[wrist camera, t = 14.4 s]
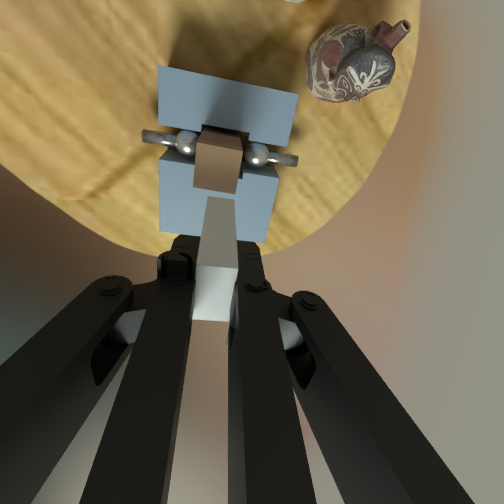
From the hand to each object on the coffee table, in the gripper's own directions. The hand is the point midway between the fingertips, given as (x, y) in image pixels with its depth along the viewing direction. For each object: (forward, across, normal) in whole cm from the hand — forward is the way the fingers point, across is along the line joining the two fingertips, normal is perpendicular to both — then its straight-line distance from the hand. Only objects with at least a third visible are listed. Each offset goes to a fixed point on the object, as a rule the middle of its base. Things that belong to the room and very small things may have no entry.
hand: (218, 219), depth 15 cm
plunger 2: (+21, +6, 0) cm, 21 cm away
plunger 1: (+21, -6, 0) cm, 21 cm away
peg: (+22, 0, 0) cm, 22 cm away
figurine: (+22, +12, +10) cm, 27 cm away
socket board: (+22, 0, -2) cm, 22 cm away
